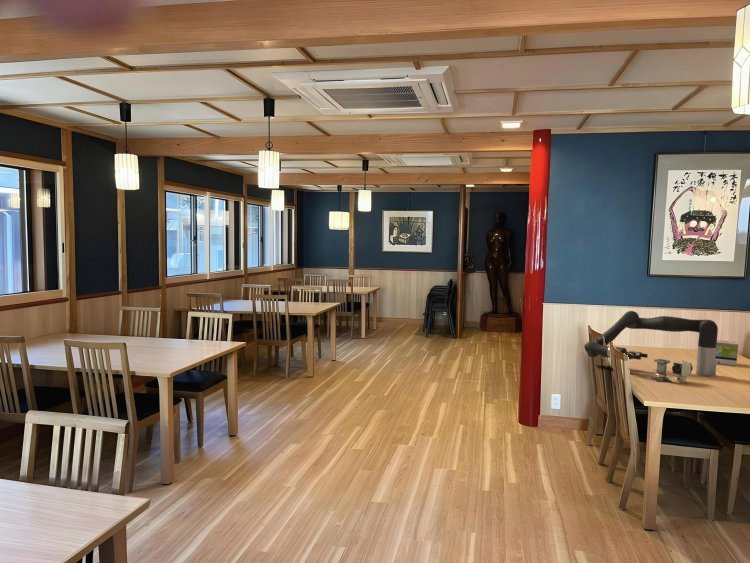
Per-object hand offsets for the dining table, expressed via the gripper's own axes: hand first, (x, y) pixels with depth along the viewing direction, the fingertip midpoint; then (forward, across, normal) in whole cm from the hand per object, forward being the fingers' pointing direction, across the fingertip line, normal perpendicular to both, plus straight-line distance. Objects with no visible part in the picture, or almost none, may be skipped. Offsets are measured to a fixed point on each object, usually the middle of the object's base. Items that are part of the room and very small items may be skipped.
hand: (644, 356), depth 319 cm
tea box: (+15, +82, +14) cm, 85 cm away
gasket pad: (+10, -2, +12) cm, 16 cm away
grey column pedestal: (+10, -2, +11) cm, 15 cm away
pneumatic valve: (+19, +5, +12) cm, 23 cm away
